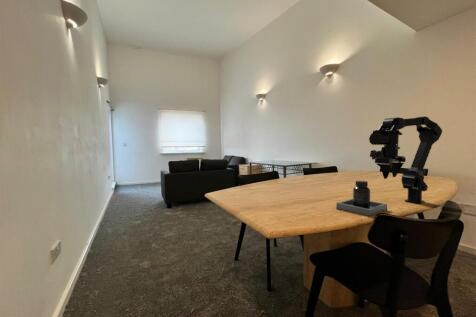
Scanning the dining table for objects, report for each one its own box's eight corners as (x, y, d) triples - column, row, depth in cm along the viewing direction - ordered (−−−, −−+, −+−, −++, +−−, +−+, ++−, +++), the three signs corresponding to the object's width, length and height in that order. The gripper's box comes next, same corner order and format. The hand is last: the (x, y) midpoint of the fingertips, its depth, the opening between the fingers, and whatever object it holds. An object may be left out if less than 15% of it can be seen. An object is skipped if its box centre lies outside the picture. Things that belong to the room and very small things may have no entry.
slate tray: (354, 203, 120) (354, 198, 120) (387, 210, 108) (387, 204, 108) (336, 209, 112) (336, 202, 112) (369, 216, 99) (369, 210, 99)
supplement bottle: (373, 208, 108) (374, 181, 107) (361, 210, 106) (362, 183, 105) (361, 205, 114) (361, 179, 114) (349, 206, 112) (349, 180, 111)
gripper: (382, 144, 127) (381, 174, 128) (363, 144, 116) (362, 177, 117) (406, 144, 118) (405, 176, 119) (389, 145, 107) (388, 180, 108)
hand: (389, 177), depth 116 cm, fingers open, 9 cm apart
